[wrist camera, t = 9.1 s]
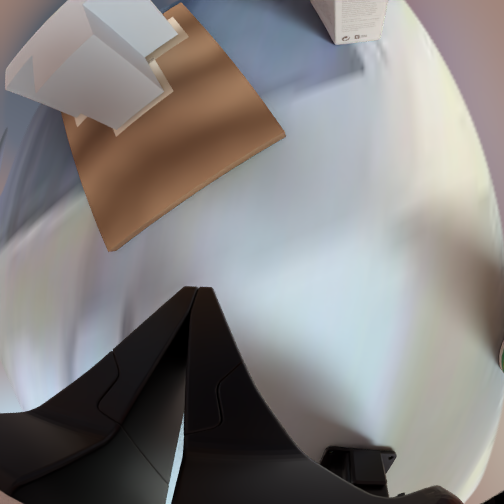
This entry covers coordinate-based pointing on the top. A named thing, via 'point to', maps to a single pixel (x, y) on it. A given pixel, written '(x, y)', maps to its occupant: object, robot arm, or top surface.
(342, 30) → the skincare box
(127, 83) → the white block
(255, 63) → the top surface
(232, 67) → the brown board
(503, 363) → the supplement bottle
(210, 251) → the top surface
